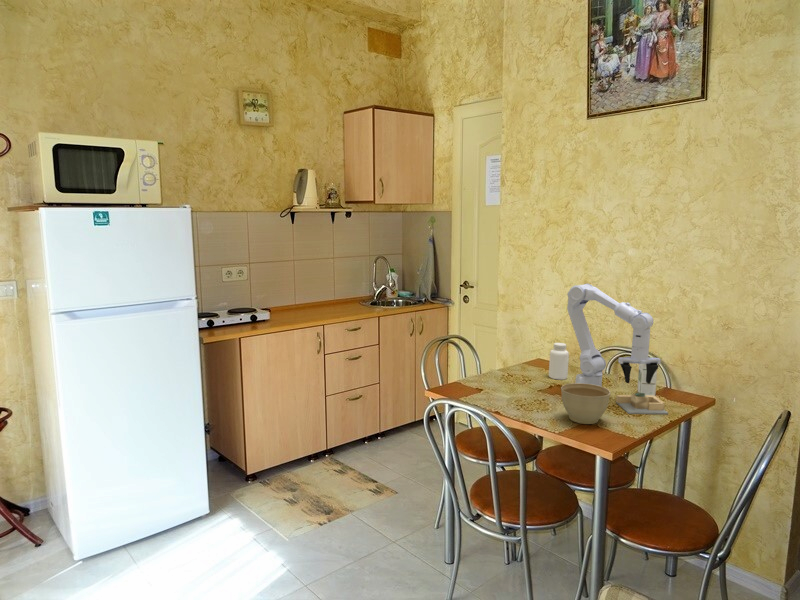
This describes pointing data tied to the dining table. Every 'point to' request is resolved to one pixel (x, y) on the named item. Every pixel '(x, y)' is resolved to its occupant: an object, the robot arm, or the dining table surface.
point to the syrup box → (643, 385)
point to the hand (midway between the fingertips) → (637, 382)
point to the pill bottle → (558, 362)
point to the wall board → (653, 408)
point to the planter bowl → (585, 402)
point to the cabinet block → (639, 401)
